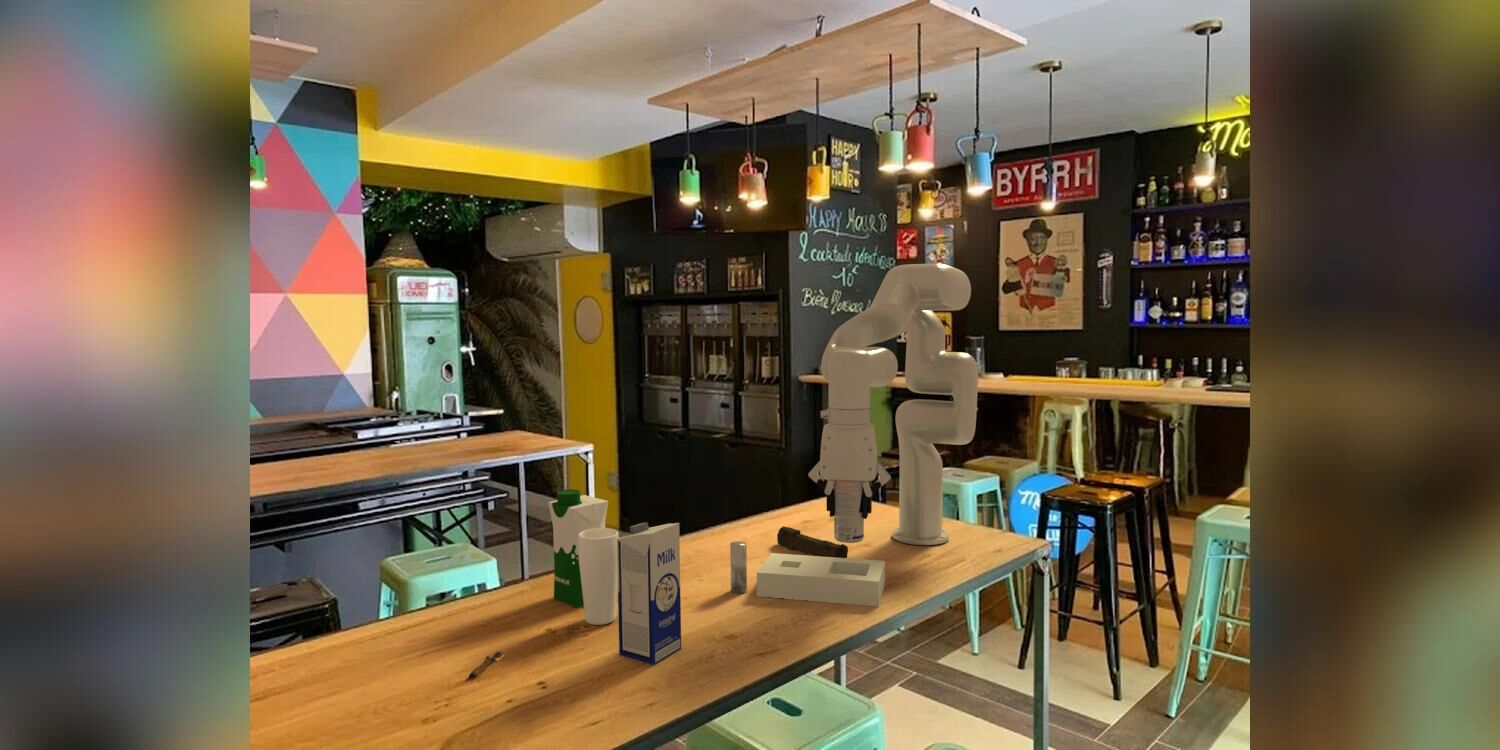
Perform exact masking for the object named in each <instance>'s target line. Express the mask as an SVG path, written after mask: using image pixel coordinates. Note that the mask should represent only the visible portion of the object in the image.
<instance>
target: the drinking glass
mask: <svg viewBox="0 0 1500 750" xmlns="http://www.w3.org/2000/svg"><path fill="white" fill-rule="evenodd" d="M618 538H620V537H619V531H618V530H616V529H614V528H609V527H605V528H595V529H589V530H585V531H582V532H580V533H579V535H578V557H579V568H580V576H581V585H582V594H583V603H584V605H583V618H584V621H585V622H586V623H587V624H590V625H595V626H603V625H607V624H610V623H612V622H614V621H615V620H616V619H617V603H618V574H617V540H616V539H618Z"/></svg>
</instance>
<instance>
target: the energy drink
mask: <svg viewBox="0 0 1500 750" xmlns="http://www.w3.org/2000/svg"><path fill="white" fill-rule="evenodd" d="M864 493H865V491H864V488H863V485H862V482H853V481H835V483H834V516H833V517H834V520H833V522H834V523H833V525H834V526H833V529H834V530H833V534H834V539H835V541H837V542H840V543H843V544H844V543H846V544H854V543H855V544H856V543H859V542H862V541H863V540H864V537H865V535H864V534H865V533H864V532H865V531H864V530H865V526H864V525H865V519H864V518H863V517H862V510H863V496H864Z"/></svg>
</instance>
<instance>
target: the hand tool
mask: <svg viewBox="0 0 1500 750" xmlns="http://www.w3.org/2000/svg"><path fill="white" fill-rule="evenodd" d="M801 532H802V531H801V530H799V529H795V528H792V527H791V526H784V525H783V526H781V527H780V528H779V530H778V532H777V535H776V536H777V537H776V538H777V539H776V540H777V542H776V543H777V544H778V545H779V546H780V545H781V546H780V547H782V546H783V548H784V547H786V548H785V549H787V548H788V549H787V550H789V549H790V550H789V551H802V552H805V553H808V554H812V555H813V556H820V557H835V558H848V553H849V547H848V545H846V544H844V543H842V544H840V543H839V544H838V543H835V542H832V541H828V540H826V539H825V540H823V539H819V538H815V537H813V536H809V535H806V534H804V533H803V534H802V533H801Z"/></svg>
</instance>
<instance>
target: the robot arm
mask: <svg viewBox="0 0 1500 750" xmlns="http://www.w3.org/2000/svg"><path fill="white" fill-rule="evenodd" d="M971 295H972V285H971V282H970V279H969V277H968V276H967V273H965V272H964V271H962V270H960V269H958V268H956V267H953V266H951V265H947V264H943V263H919V264H918V263H915V264H913V263H911V264H910V263H907V264H901V265H900V264H899V265H896V266H894V267H892V268H891V269H889V270H888V272H887V273H886V274H885V276H884V278H883V280H882V282H881V285H880V287H879V289H878V290H877V292H876V295H875V297H874V299H873V301H872V303H870V304H871V305H870V307H868V308H867V309H865V310H863V311H861V312H859V313H858V314H855V316H853V317H851V318H850V319H848V320H847V321H845V322H844V323H843V324H841V325H840V326H839V327H838V328H837V329H836V330H835V331H834V332H833V334H832V336H831V337H830V340H829V341H828V343H827V345H826V347H825V349H824V351H823V354H822V357H821V358H822V359H821V364H820V365H821V366H820V369H821V370H820V371H821V374H822V377H823V379H824V380H825V381H826V382H827V383H828V408H827V409H825V410H820V418H821V419H826V420H827V423H826V424H823V429H822V434H821V442H820V455H819V458H820V459H819V461H818V462H817V463H816V464H815V465H814V466H813V467H812V469H811V470H810V471H809V472H808V478H810V479H811V480H812V481H813V482H814V483H816V485H817V486H818V487H819V488H820V489H821V490H822V491H823V492H824V494H825V496H826V511H827V512H829V517H830V518H833V517H834V483H835V481H853V482H862V485H863V488H864V496H863V510H862V517H863V518H864V520H867V519H868V517H869V514H872V512H873V511H872V509H873V508H872V507H873V506H872V505H873V502H872V501H873V500H872V496H873V495H874V494H875V493H877V491H879V489H880V488H881V487H884V485H886V484H887V483H888V482H889V481H890V480H891V479H892V477H891V474H890V473H889V472H888V471H887V470H886V469H885V468H884V466H883V465H882V463H880V462H879V460H878V446H877V445H878V444H877V437H876V431H875V426H874V425H873V424H871V388H883V387H887V386H888V385H890V384H891V383H893V382H894V380H895V378H896V376H897V374H898V368H899V364H898V360H897V357H896V355H895V354H894V352H893V351H892V350H890V349H888V348H886V347H880V346H872V345H875V344H878V343H883V342H885V341H888V340H891V339H894V338H896V337H898V336H900V335H903V333H904V332H906V351H905V369H904V374H905V375H904V379H905V380H904V381H905V385H906V388H907V389H908V390H909V391H910V392H912V393H916V394H917V393H918V394H923V395H924V394H925V395H926V394H928V395H945V396H952V399H953V400H951V401H950V400H936V399H921V398H920V399H918V398H917V399H909V400H905V401H904V402H902V403H901V404H900V405H899V406H898V407H897V408H896V412H895V427H896V433H897V438H898V440H897V441H898V449H899V451H898V452H899V504H898V505H899V508H898V509H899V512H898V514H899V516H898V517H899V519H898V521H899V523H898V524H899V526H898V527H896V528H895V529H893V530H892V538H893V539H894V540H896V541H897V542H899V543H904V544H908V545H914V546H934V545H935V546H936V545H942V544H944V543H947V542H948V541H949V540H950V534H949V532H947V531H946V530H944V529H943V477H944V476H943V475H944V473H943V469H944V467H943V460H942V457H941V454H940V453H939V451H938V450H937V449H936V447H935V445H934V444H942V445H954V446H955V445H956V446H957V445H958V446H962V445H967V444H969V443H971V442H972V440H973V439H974V436H975V433H976V423H977V410H978V408H977V407H978V385H979V374H978V365H977V361H976V360H975V358H974V357H973V356H972V355H971V354H969V353H967V352H962V351H961V352H960V351H959V352H957V351H946V327H944V324H943V323H942V321H941V319H940V318H939V316H937V315H936V313H935V312H934V311H960V310H963V309H964V308H966V307H967V306H968V304H969V302H970V300H971ZM877 475H879V476H880V478H878V479H877V480H876V481H875V482H873V483H872V481H874V480H875V479H876V477H877Z"/></svg>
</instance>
